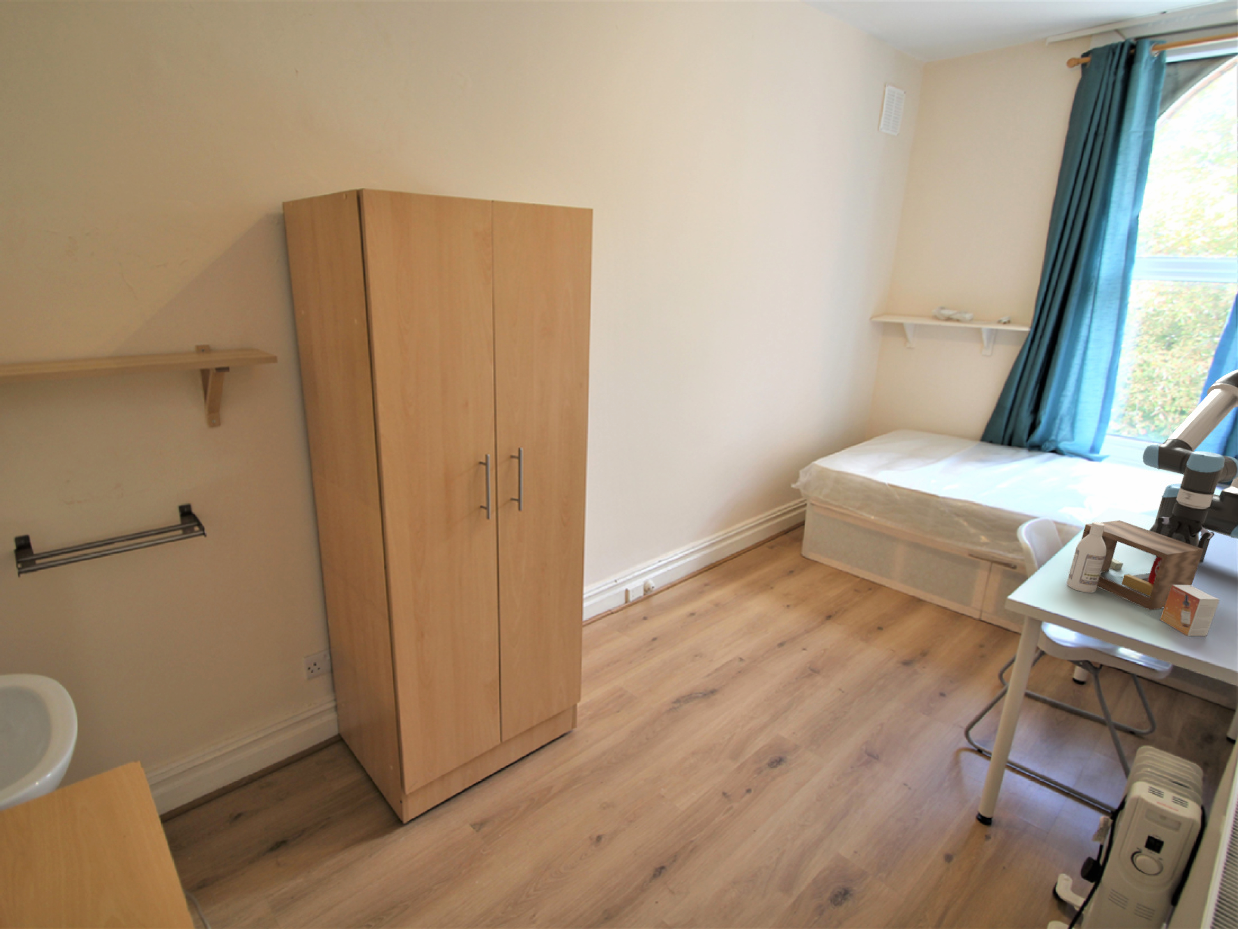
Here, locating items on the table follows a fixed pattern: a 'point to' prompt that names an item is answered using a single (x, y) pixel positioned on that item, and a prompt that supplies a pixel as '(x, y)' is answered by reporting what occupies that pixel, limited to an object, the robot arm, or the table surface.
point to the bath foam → (1088, 560)
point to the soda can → (1154, 570)
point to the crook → (1138, 583)
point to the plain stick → (1116, 564)
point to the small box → (1189, 610)
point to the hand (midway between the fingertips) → (1168, 577)
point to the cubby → (1175, 554)
